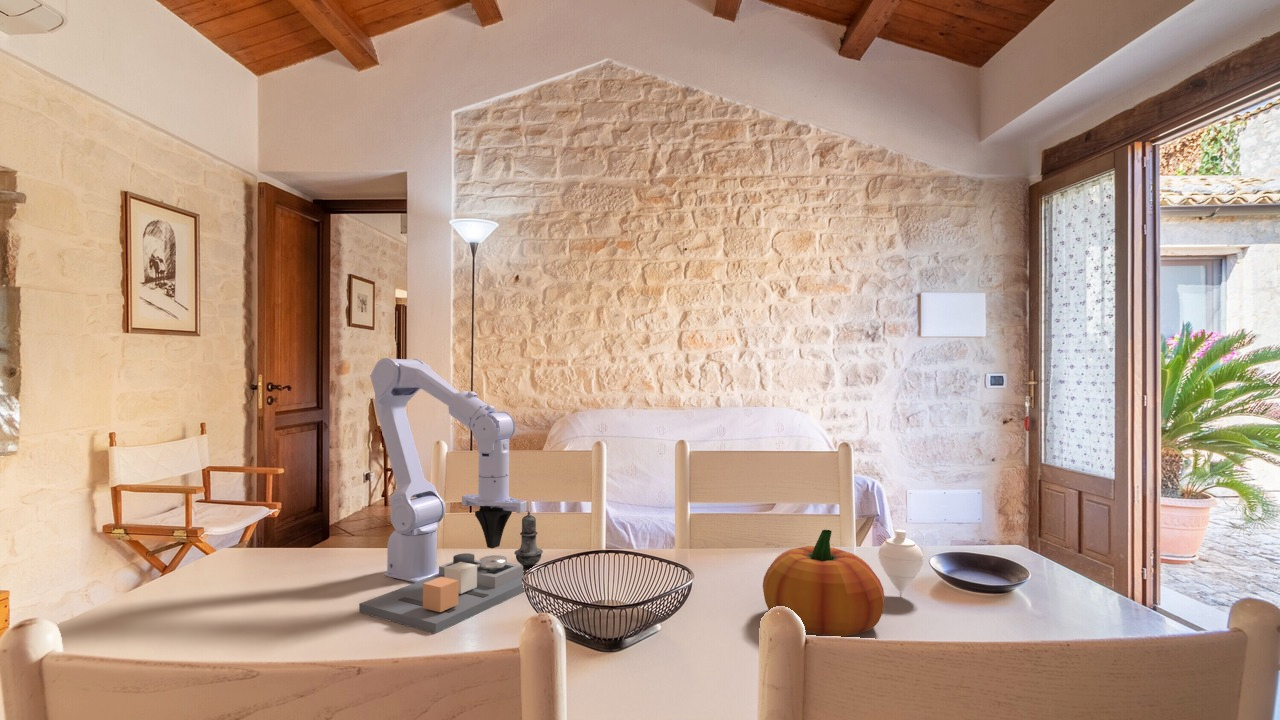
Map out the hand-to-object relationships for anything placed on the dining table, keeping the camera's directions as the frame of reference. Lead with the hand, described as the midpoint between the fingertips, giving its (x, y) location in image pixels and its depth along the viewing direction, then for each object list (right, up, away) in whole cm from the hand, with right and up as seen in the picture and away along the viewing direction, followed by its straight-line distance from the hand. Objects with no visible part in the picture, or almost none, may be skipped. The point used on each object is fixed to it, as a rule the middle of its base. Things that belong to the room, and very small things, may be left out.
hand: (493, 546), depth 121 cm
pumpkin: (+58, -8, -17) cm, 61 cm away
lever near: (-5, -5, -16) cm, 17 cm away
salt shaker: (+5, -8, +11) cm, 14 cm away
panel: (-6, -7, -6) cm, 11 cm away
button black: (-7, -4, +4) cm, 9 cm away
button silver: (0, -4, 0) cm, 4 cm away
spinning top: (+76, -8, -5) cm, 76 cm away
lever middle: (-4, -5, -7) cm, 10 cm away
